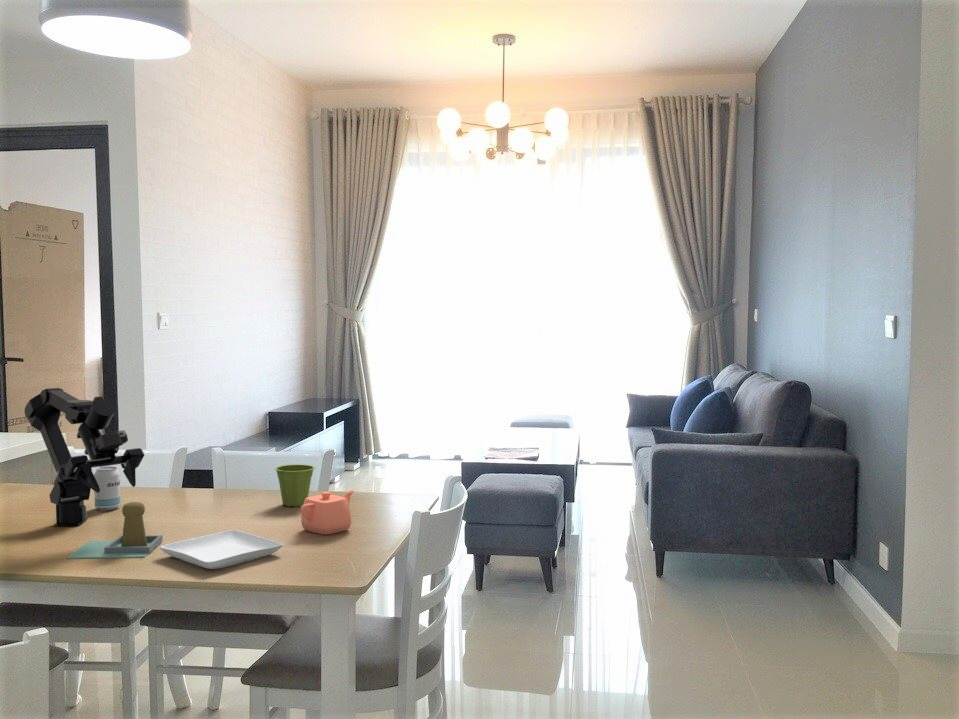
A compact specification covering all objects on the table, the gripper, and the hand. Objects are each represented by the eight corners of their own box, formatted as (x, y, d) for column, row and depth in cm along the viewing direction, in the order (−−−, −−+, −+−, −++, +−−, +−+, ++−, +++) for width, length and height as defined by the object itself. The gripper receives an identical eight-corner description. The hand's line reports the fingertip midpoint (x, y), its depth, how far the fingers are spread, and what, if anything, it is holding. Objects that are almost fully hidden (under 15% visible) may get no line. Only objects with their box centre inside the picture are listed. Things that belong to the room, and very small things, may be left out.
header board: (66, 558, 203) (66, 551, 203) (89, 542, 217) (89, 535, 217) (146, 557, 204) (146, 550, 204) (163, 541, 218) (163, 534, 218)
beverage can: (107, 512, 247) (106, 471, 247) (89, 510, 250) (88, 469, 249) (125, 507, 254) (124, 467, 253) (107, 505, 256) (106, 465, 256)
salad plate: (233, 540, 220) (233, 527, 220) (285, 556, 207) (285, 542, 207) (157, 559, 204) (157, 545, 204) (208, 577, 190) (208, 562, 190)
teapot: (287, 532, 227) (287, 494, 226) (340, 520, 240) (340, 483, 240) (315, 540, 219) (314, 500, 219) (368, 527, 233) (368, 489, 232)
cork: (131, 551, 208) (130, 506, 207) (115, 547, 211) (114, 503, 210) (152, 545, 213) (151, 502, 212) (136, 542, 216) (136, 499, 215)
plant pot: (321, 505, 257) (321, 468, 257) (283, 510, 251) (283, 472, 250) (305, 498, 267) (305, 462, 266) (269, 503, 260) (268, 466, 260)
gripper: (68, 424, 212) (89, 475, 205) (140, 417, 226) (162, 464, 219) (55, 452, 217) (76, 502, 211) (126, 443, 231) (147, 490, 225)
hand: (116, 488), depth 216 cm, fingers open, 9 cm apart
